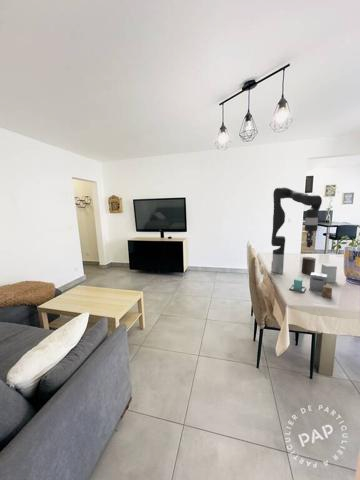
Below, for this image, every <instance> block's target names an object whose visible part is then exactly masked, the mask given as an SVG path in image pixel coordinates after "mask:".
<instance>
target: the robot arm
mask: <svg viewBox="0 0 360 480" xmlns="http://www.w3.org/2000/svg"><path fill="white" fill-rule="evenodd" d="M272 196H273V213H272V214H273V215H272V233H271V242H270V243H271V246H272V247H278V248H276V249H273V250H272V258H271V259H272V261H271V267H270V268H271V269H270V272H272V273H275V274H283V273H284V261H285V249H286V247H285V246H286V237H285V236H284V235H277V234H278V232H279V230H280V229H281V228H282V226H283V225H284V224H285V221H286V212H285V210H284V209H283V207H282V203H281V202H282V200H283V199H292V201H294V202H297V203H301V204H302V205H304V206H309V207H310V208H309V209H307V210H306V211H305V220H304V232H305V231H306V232H307V233H306V239H305V241H306V248H312V246H313V242H314V238H315V232H317V231H318V225H319V222H318V221H319V211H320V208H321V206H322V203H323V199H322V197H321V196H320V195H316V194H315V195H312V194H311V195H309V194H307V193H304V192H299V191H296V190H293V189H291V188H288V187H275V189H274V191H273V194H272Z"/></svg>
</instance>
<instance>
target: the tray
mask: <svg viewBox="0 0 360 480" xmlns="http://www.w3.org/2000/svg"><path fill="white" fill-rule="evenodd" d="M293 287H294V283H293V284H291V285H290V286H289V287H288V290H289V291H293V292H298V293H302V294H304V293H305V291H306V290H307V286H303V285H302V289H301V290H296V289H293Z"/></svg>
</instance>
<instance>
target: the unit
mask: <svg viewBox="0 0 360 480" xmlns="http://www.w3.org/2000/svg"><path fill="white" fill-rule="evenodd" d="M324 285H328V282H327V274H321V272H312V273H311V275H310V279H309V291H310V290H311V291H315V292H320V293H323V286H324Z"/></svg>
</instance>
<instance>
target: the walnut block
mask: <svg viewBox="0 0 360 480" xmlns="http://www.w3.org/2000/svg"><path fill="white" fill-rule="evenodd" d="M332 293H333V286H332V285H328V284H326V285H324V286H323V292H322V298H325V299H330V300H331V299H332V296H333V294H332Z"/></svg>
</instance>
